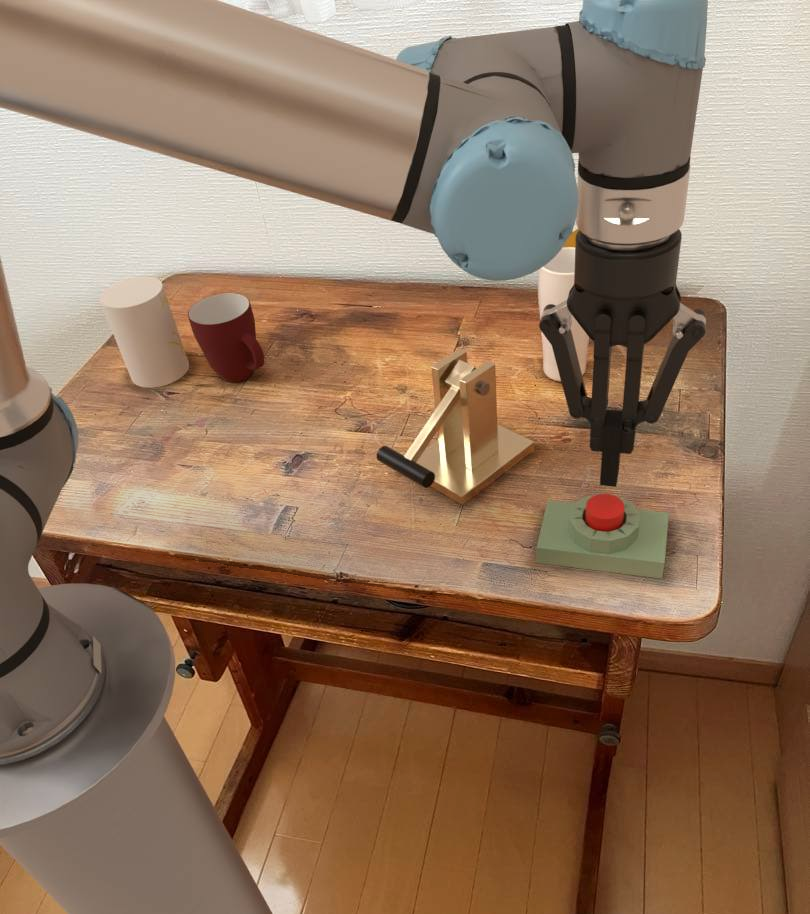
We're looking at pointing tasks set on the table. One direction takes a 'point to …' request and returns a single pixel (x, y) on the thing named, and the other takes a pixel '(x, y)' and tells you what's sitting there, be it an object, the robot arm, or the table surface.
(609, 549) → the control pad
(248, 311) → the mug
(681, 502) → the table surface
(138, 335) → the cup
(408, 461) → the lever
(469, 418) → the power switch
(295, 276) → the table surface
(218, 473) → the table surface
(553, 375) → the drinking glass
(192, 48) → the robot arm
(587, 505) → the stop button
